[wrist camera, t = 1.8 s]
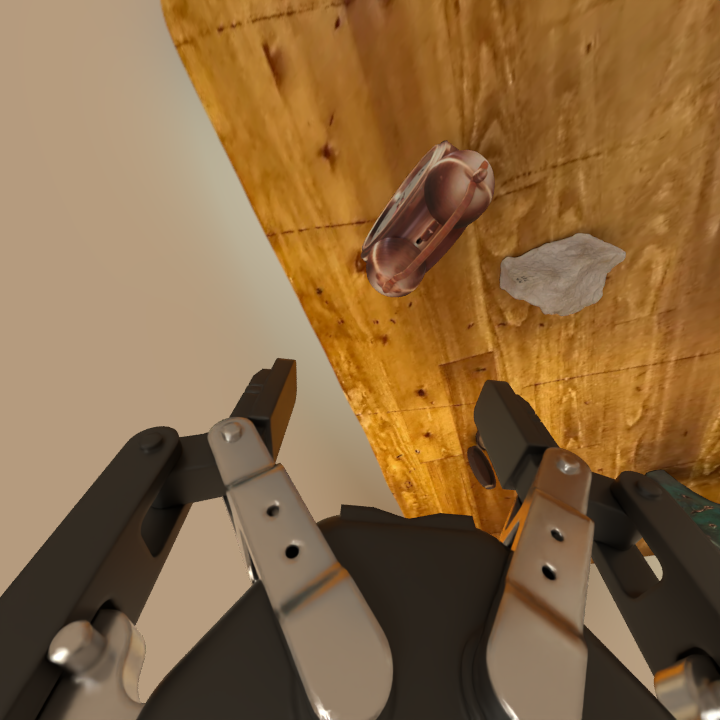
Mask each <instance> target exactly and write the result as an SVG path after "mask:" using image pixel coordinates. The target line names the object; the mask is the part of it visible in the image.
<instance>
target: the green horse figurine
mask: <svg viewBox="0 0 720 720" xmlns="http://www.w3.org/2000/svg"><path fill="white" fill-rule="evenodd" d="M645 476H647V477H649V478H651V479H652V480H654V481H656V482H657V483H659V484H660V485H661V486H662V487H664V488H665V489H666V490H667V491H668V492H669V493H670V494H671V496H672V497H673V498H674V499H675V500H676V501H677V503H678V504H679V505H680V506H681V507H682V508H683V509H684V511H685V512H686V513H687V514H688V515H689V516H690V517H691V519H692V520H693V521H694V522H695V523H696V524H697V525H698V527H699V528H700V529H701V530H702V531H703V532H704V533H705V535H706V536H707V537H708V538H709V539H710V540H711V541H712V543H713V544H714V545H715V546H716V547H717V548H718V549H719V551H720V504H717V503H715V502H712V501H710V500H708V499H706V498H704V497H702V496H700V495H699V494H697V493H695V492H693V491H692V490H690V489H689V488H687V487H686V486H684V485H683V484H681V483H680V482H678V481H677V480H676V479H674V478H673V477H672V476H670V475H669V474H668V473H666V472H665V471H664V470H656V471H652V472H648V473H646V475H645Z"/></svg>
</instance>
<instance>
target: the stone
mask: <svg viewBox="0 0 720 720" xmlns="http://www.w3.org/2000/svg"><path fill="white" fill-rule="evenodd" d="M625 256H626V252H625V251H623V250H622V249H620V248H618V247H616V246H613V245H612V244H609V243H606V242H604V241H603V240H599V239H597V238H596V237H592V236H591V235H590V234H583V233H577V234H575V235H574V236H572V237H569V238H566V239H563V240H560V241H555V242H552V243H546V244H544V245H543V246H541V247H539V248H537V249H532V250H531V251H529V252H528V253H525V254H524V255H522V256H520V257H516V258H513V257H506V258H505V259H504V260H503V261H502V262H501V275H500V287H501V288H502V289H504V290H506V291H507V292H508V293H509V294H510V295H511V296H512V297H514V298H515V299H519V300H525V301H527V302H528V303H530V304H532V305H536V306H539V307H540V309H541V310H542V312H543V313H544V314H551V315H552V314H558V315H560V316H566V315H569V314H573V313H575V312H577V311H580V310H582V309H583V308H584V307H585V306H589V305H591V304H594V303H596V302H597V301H598V300H599V299H600V298H601V297H602V289H603V287H604V285H605V279H606V275H607V273H608V272H610V271H611V269H612V268H613V267H614V266H616V265H617V264H619V263H620V262H622V261H623V260H624V259H625Z"/></svg>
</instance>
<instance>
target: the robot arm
mask: <svg viewBox="0 0 720 720" xmlns="http://www.w3.org/2000/svg"><path fill="white" fill-rule="evenodd" d="M296 378H297V377H296V360H292V359H281V358H277V359H276V361H275V363H274V365H273V367H272V369H262V370H260V371H259V372H258V373H256V374H255V375H254V376H253V378H252V379H251V381H250V383H249V386H247V388H246V389H245V393H243V395H242V397H241V398H240V400H239V402H238V403H237V405H236V407H235V408H234V410H233V412H232V414H231V415H230V417H229V418H227V419H225V420H222V421H220V422H218V423H217V424H215V425H214V426H213V427H212V428H211V430H210V431H209V432H208V433H204V434H200V435H193V436H186V437H179V435H178V433H177V431H176V430H175V429H173V428H170V427H165V426H163V427H162V426H161V427H153V428H150V429H146V430H144V431H142V432H140V433H138V434H136V435H135V436H133V437H132V438H131V439H130V440H129V441H128V442H127V443H126V444H125V446H124V447H123V448H122V449H121V450H120V452H119V453H118V454H117V455H116V456H115V458H114V459H113V460H112V461H111V463H110V464H109V465H108V466H107V467H106V469H105V470H104V471H103V472H102V474H101V475H100V476H99V477H98V479H97V480H96V481H95V482H94V483H93V485H92V486H91V487H90V488H89V489H88V491H87V492H86V493H85V494H84V496H83V497H82V498H81V499H80V500H79V502H78V503H77V504H76V505H75V506H74V508H73V509H72V510H71V511H70V513H69V514H68V515H67V516H66V518H65V519H64V520H63V521H62V522H61V524H60V525H59V526H58V527H57V528H56V530H55V531H54V532H53V533H52V535H51V536H50V537H49V538H48V540H47V541H46V542H45V543H44V544H43V546H42V547H41V548H40V549H39V550H38V552H37V553H36V554H35V555H34V557H33V558H32V559H31V560H30V562H29V563H28V564H27V565H26V567H25V568H24V569H23V570H22V571H21V572H20V574H19V575H18V576H17V578H16V579H15V580H14V581H13V582H12V584H11V585H10V586H9V587H8V589H7V590H6V591H5V592H4V593H3V595H2V596H1V597H0V720H720V551H719V549H718V548H717V547H716V546H715V545H714V544H713V543H712V541H711V540H710V539H709V538H708V537H707V536H706V535H705V533H704V532H703V531H702V530H701V529H700V528H699V527H698V525H697V524H696V523H695V522H694V521H693V520H692V519H691V517H690V516H689V515H688V514H687V513H686V512H685V511H684V509H683V508H682V507H681V506H680V505H679V504H678V503H677V501H676V500H675V499H674V498H673V497H672V496H671V494H670V493H669V492H668V491H667V490H666V489H665V488H664V487H662V486H661V485H660V484H659V483H657V482H656V481H654V480H652V479H651V478H649V477H647V476H645V475H643V474H640V473H637V472H633V471H624V472H622V473H621V474H620V475H619V476H618V477H617V478H616V479H612V478H609V477H606V476H603V475H600V474H597V473H594V472H591V470H590V468H589V466H588V465H587V464H586V463H585V462H584V461H583V460H582V459H581V458H580V457H578V456H577V455H575V454H574V453H572V452H570V451H568V450H565V449H562V448H559V446H558V445H557V443H556V442H555V441H554V439H553V438H552V436H551V435H550V433H549V432H548V430H547V429H546V427H545V426H544V425H543V423H542V422H540V421H541V420H540V419H539V417H538V416H537V415H536V414H535V411H534V410H533V409H532V407H531V406H530V404H529V403H528V402H527V401H525V400H524V399H523V398H522V397H521V396H519V395H516V394H515V393H514V391H513V390H512V388H511V386H510V385H509V384H508V383H507V382H505V381H495V380H487V381H486V382H485V384H484V386H483V388H482V391H481V393H480V396H479V398H478V401H477V403H476V406H475V409H474V421H475V424H476V426H477V429H478V431H479V434H480V436H481V438H482V441H483V443H484V446H485V448H486V450H487V453H488V455H489V458H490V460H491V462H492V465H493V467H494V470H495V472H496V474H497V477H498V479H499V482H500V484H501V486H502V489H509V490H516V492H517V494H518V495H517V497H516V498H515V500H514V502H513V505H512V507H511V510H510V512H509V515H508V517H507V520H506V523H505V525H504V528H503V530H502V533H501V535H500V538H499V540H498V539H496V538H495V537H493V536H492V535H490V534H488V533H487V532H485V531H482V530H480V529H478V528H476V527H475V524H474V521H473V517H472V516H467V515H456V514H444V513H438V514H433V515H427V516H422V517H417V518H411V519H408V518H404V517H401V516H397V515H395V514H392V513H389V512H386V511H383V510H380V509H377V508H374V507H364V506H353V505H341V513H340V515H336V516H333V517H329V518H326V519H323V520H321V521H319V522H317V523H316V522H315V521H314V519H313V517H312V515H311V514H310V512H309V510H308V508H307V507H306V505H305V503H304V502H303V500H302V498H301V496H300V494H299V493H298V491H297V489H296V487H295V486H294V484H293V482H292V481H291V479H290V477H289V475H288V473H287V472H286V470H285V468H284V467H283V465H282V464H281V463H278V464H275V462H276V459H277V456H278V453H279V450H280V447H281V444H282V441H283V438H284V435H285V432H286V429H287V426H288V423H289V420H290V417H291V414H292V411H293V408H294V404H295V400H296V392H297V381H296V380H297V379H296ZM217 497H222V498H223V501H224V504H225V507H226V510H227V513H228V515H229V518H230V521H231V524H232V527H233V530H234V533H235V536H236V538H237V541H238V545H239V548H240V551H241V555H242V558H243V561H244V564H245V568H246V571H247V573H248V576H249V579H250V582H251V585H252V586H251V587H250V588H249V589H248V590H247V591H246V593H245V594H244V595H243V596H242V597H241V598H240V599H239V600H238V601H237V602H236V603H235V604H234V605H233V606H232V607H231V608H230V609H229V610H228V611H227V612H226V613H225V615H223V616H222V617H221V619H220V620H219V621H218V622H217V623H216V624H215V625H214V626H213V627H212V628H211V629H210V630H209V631H208V632H207V633H206V634H205V635H204V636H203V637H202V638H201V639H200V640H199V642H198V643H197V644H196V645H195V646H194V647H193V648H192V649H191V650H190V651H189V652H188V653H187V654H186V655H185V656H184V657H183V658H182V659H181V660H180V661H179V662H178V663H177V665H176V666H175V667H174V668H173V669H172V670H171V671H170V672H169V673H168V674H167V675H166V676H165V677H164V679H163V680H162V681H161V682H160V683H159V685H158V686H157V687H156V689H155V690H154V691H153V693H152V694H151V696H150V697H149V699H148V700H147V702H146V703H141V702H140V699H139V694H138V682H139V676H140V673H141V669H142V666H143V662H144V659H145V653H146V645H145V641H144V638H143V636H142V635H141V633H140V632H139V631H138V630H137V628H136V627H135V625H136V623H137V621H138V618H139V616H140V614H141V612H142V610H143V608H144V605H145V604H146V601H147V599H148V597H149V595H150V593H151V591H152V589H153V586H154V584H155V582H156V580H157V578H158V576H159V574H160V572H161V569H162V567H163V565H164V563H165V561H166V559H167V557H168V555H169V553H170V551H171V548H172V546H173V544H174V542H175V540H176V538H177V536H178V534H179V531H180V529H181V527H182V525H183V523H184V521H185V519H186V517H187V514H188V512H189V510H190V508H191V506H192V504H193V503H194V502H199V501H203V500H208V499H212V498H217ZM642 537H643V539H644V540H645V542H646V543H647V545H648V546H649V547H650V549H651V550H652V552H653V553H654V555H655V556H656V557H657V559H658V560H659V562H660V564H661V566H662V570H663V576H662V579H661V581H659V580H658V578H657V577H656V575H655V574H654V572H653V571H652V569H651V568H650V566H649V565H648V563H647V562H646V560H645V559H644V557H643V555H642V554H641V552H640V551H639V549H638V548H637V546H636V545H635V544H636V543H637V542H638V541H639V540H640V539H641V538H642ZM591 557H592V559H593V561H594V563H595V565H596V567H597V568H598V570H599V572H600V574H601V576H602V578H603V580H604V582H605V584H606V586H607V587H608V589H609V591H610V593H611V595H612V597H613V599H614V601H615V603H616V605H617V607H618V609H619V610H620V612H621V614H622V616H623V618H624V620H625V622H626V624H627V626H628V628H629V630H630V632H631V633H632V635H633V637H634V639H635V641H636V643H637V645H638V647H639V649H640V651H641V652H642V654H643V656H644V658H645V660H646V662H647V664H648V665H649V668H650V669H651V672H652V674H653V675H654V687H655V692H656V696H657V698H656V697H655V696H654V695H653V694H652V693H651V692H650V691H649V690H648V689H647V688H646V687H645V686H644V685H643V684H642V683H641V682H640V681H639V680H638V679H637V678H636V677H635V676H634V675H633V674H632V673H631V672H630V671H629V670H628V669H627V668H626V667H625V666H624V665H623V664H622V663H621V662H620V661H619V660H618V658H616V656H615V655H614V654H613V653H612V652H611V651H609V649H608V648H607V647H606V646H604V644H603V643H602V642H601V641H600V640H599V639H598V638H597V637H596V636H595V635H594V634H593V633H592V632H591V631H590V630H589V629H588V628H587V627H586V626H585V625H584V614H585V606H586V597H587V588H588V579H589V571H590V562H591Z"/></svg>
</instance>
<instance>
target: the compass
mask: <svg viewBox="0 0 720 720" xmlns="http://www.w3.org/2000/svg"><path fill="white" fill-rule="evenodd" d="M476 442H477V446H472V447H470V448H468V452H467V455H468V461H469V464H470V466H471V469H472V471H473V473H474V475H475V476H476V478H477V480H478V481H479V482H480V484H481V485H482V486H483V487H485V488H486V489H492V488H495V486H496V479H495V476H494V472H493V470H492V467H491V465H490V463H489V461H488V460H487V458H486V456H485V455H484V453H483V452H482V449H483V450H486V448H485V446H484V443H483V441H482V438H481V436H480V434H479V431H478V432H477V433H476ZM486 451H487V450H486Z"/></svg>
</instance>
